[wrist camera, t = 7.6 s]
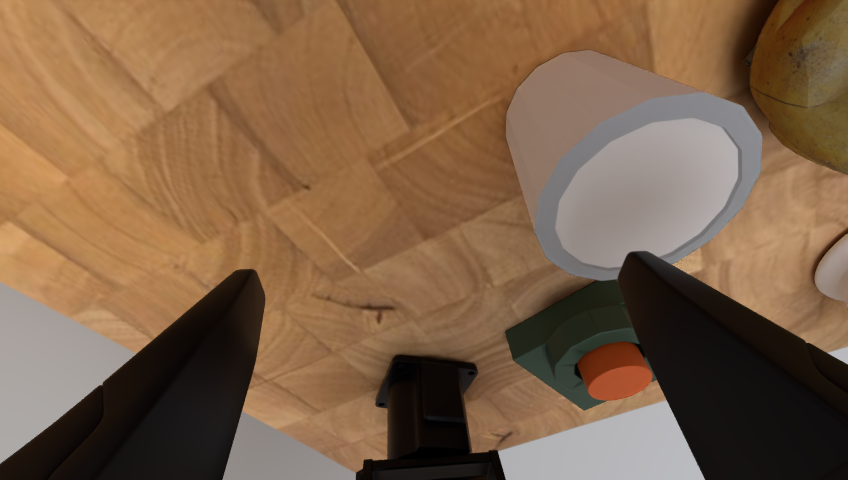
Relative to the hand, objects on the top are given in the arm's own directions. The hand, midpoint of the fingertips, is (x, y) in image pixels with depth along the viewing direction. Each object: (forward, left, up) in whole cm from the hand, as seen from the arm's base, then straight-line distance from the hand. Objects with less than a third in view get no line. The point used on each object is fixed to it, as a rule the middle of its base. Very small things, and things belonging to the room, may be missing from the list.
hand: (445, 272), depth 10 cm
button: (-10, -14, -6) cm, 19 cm away
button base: (-12, -16, -10) cm, 23 cm away
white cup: (+2, -6, -10) cm, 12 cm away
